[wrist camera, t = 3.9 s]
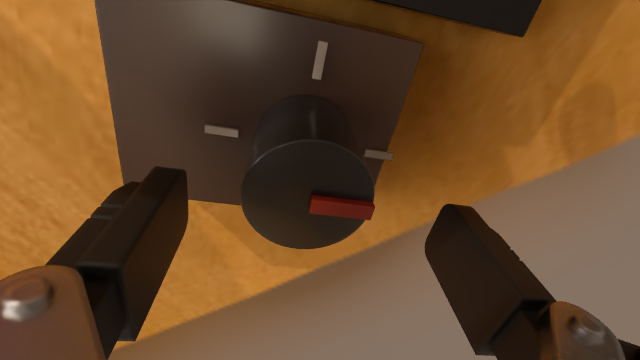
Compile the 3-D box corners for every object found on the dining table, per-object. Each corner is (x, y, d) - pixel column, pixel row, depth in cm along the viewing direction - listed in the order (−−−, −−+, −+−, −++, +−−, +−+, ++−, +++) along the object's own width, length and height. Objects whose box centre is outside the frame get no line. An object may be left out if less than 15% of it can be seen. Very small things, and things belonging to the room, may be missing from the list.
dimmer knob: (250, 177, 14) (234, 250, 10) (259, 85, 12) (243, 132, 8) (339, 188, 15) (356, 260, 11) (363, 104, 13) (396, 155, 9)
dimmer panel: (149, 167, 17) (123, 200, 14) (130, -28, 12) (85, -34, 10) (356, 193, 19) (367, 226, 16) (407, 36, 14) (433, 45, 12)
